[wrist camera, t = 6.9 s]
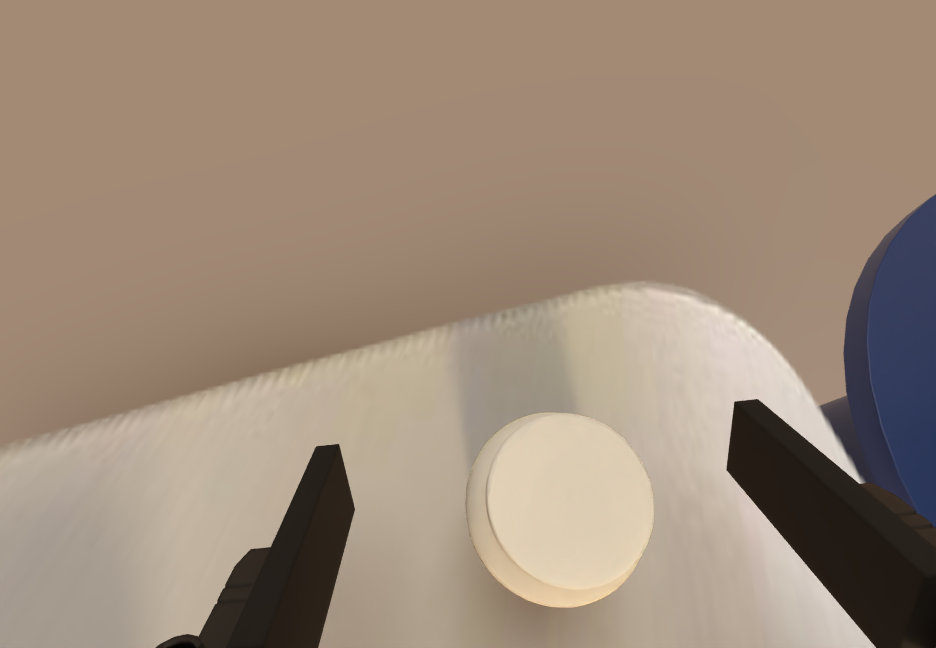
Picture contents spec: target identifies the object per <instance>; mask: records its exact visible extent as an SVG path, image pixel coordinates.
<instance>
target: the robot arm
mask: <svg viewBox="0 0 936 648" xmlns="http://www.w3.org/2000/svg"><path fill="white" fill-rule="evenodd" d="M727 471H728V472H729V473H730V475H731V476H732V477H733V478H734V479H735V481H736V482H737V483H738V484H739V485H740V487H741V488H742V489H743V490H744V491H745V492H746V494H747V495H748V496H749V497H750V498H751V500H752V501H753V502H754V503H755V504H756V506H757V507H758V508H759V509H760V510H761V511H762V513H763V514H764V515H765V516H766V517H767V519H768V520H769V521H770V522H771V523H772V525H773V526H774V527H775V528H776V529H777V530H778V532H779V533H780V534H781V535H782V536H783V538H784V539H785V540H786V541H787V542H788V543H789V545H790V546H791V547H792V548H793V549H794V551H795V552H796V553H797V554H798V555H799V557H800V558H801V559H802V560H803V561H804V562H805V564H806V565H807V566H808V567H809V568H810V570H811V571H812V572H813V573H814V574H815V576H816V577H817V578H818V579H819V580H820V581H821V583H822V584H823V585H824V586H825V587H826V589H827V590H828V591H829V592H830V593H831V595H832V596H833V597H834V598H835V599H836V600H837V602H838V603H839V604H840V605H841V606H842V608H843V609H844V610H845V611H846V612H847V614H848V615H849V616H850V617H851V618H852V619H853V621H854V622H855V623H856V624H857V625H858V627H859V628H860V629H861V630H862V631H863V633H864V634H865V635H866V636H867V637H868V638H869V640H870V641H871V642H872V643H873V644H874V646H875V647H876V648H936V527H935V528H934V527H933V526H932V523H930V522H929V521H928V520H926V519H925V518H924V517H923V516H921V515H920V514H917V513H916V511H915V510H914V509H913V508H911V507H910V506H909V505H908V504H906V503H905V502H904V501H902V500H901V499H900V498H899V497H897V496H896V495H894V494H892V493H890V492H888V491H886V490H884V489H883V488H881V487H879V486H877V485H875V484H873V483H864V484H859V483H858V482H856V481H855V480H854V479H853V478H852V477H850V476H849V475H848V474H847V473H846V472H844V471H843V470H842V469H841V468H840V467H838V466H837V465H836V464H835V463H834V462H832V461H831V460H830V459H829V458H828V457H826V456H825V455H824V454H823V453H822V452H820V451H819V450H818V449H817V448H816V447H814V446H813V445H812V444H811V443H810V442H808V441H807V440H806V439H805V438H804V437H802V436H801V435H800V434H799V433H798V432H796V431H795V430H794V429H793V428H792V427H790V426H789V425H788V424H787V423H786V422H784V421H783V420H782V419H781V418H780V417H779V416H777V415H776V414H775V413H774V412H773V411H771V410H770V409H769V408H768V407H767V406H765V405H764V404H763V403H762V402H761V401H759V400H758V399H755V400H746V401H737V402H734V411H733V419H732V427H731V436H730V444H729V453H728V461H727ZM354 511H355V508H354V503H353V499H352V495H351V491H350V487H349V483H348V479H347V475H346V471H345V467H344V462H343V458H342V454H341V450H340V446H339V444H335V445H326V446H316V448H315V450H314V452H313V455H312V457H311V459H310V461H309V463H308V466H307V468H306V470H305V472H304V475H303V477H302V479H301V481H300V483H299V486H298V488H297V490H296V492H295V495H294V497H293V499H292V501H291V503H290V506H289V508H288V510H287V512H286V515H285V517H284V519H283V521H282V524H281V526H280V528H279V530H278V532H277V535H276V537H275V539H274V541H273V544H272V546H271V547H269V548H259V549H251V550H250V551H249V552H248V553H247V554H246V555H245V556H244V557H243V558H242V559H241V560H240V561H239V562H238V563H237V564H236V566H235V567H234V569H233V571H232V573H231V575H230V577H229V579H228V581H227V582H226V584H225V588H224V589H223V590H222V592H221V594H220V596H219V598H218V600H217V601H218V602H217V604H215V606H214V608H213V610H212V612H211V614H210V616H209V617H208V619H207V621H206V623H205V625H204V627H203V629H202V631H201V633H200V635H199V637H198V636H194V635H189V634H186V635H181V636H176V637H173V638H171V639H169V640H167V641H165V642H163V643H161V644H160V645H158V646H157V647H156V648H318V646H319V643H320V639H321V635H322V631H323V627H324V624H325V620H326V616H327V612H328V609H329V605H330V601H331V597H332V594H333V590H334V586H335V582H336V579H337V575H338V571H339V567H340V564H341V560H342V556H343V552H344V548H345V545H346V541H347V537H348V533H349V530H350V526H351V522H352V518H353V515H354Z"/></svg>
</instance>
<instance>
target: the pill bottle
mask: <svg viewBox="0 0 936 648" xmlns="http://www.w3.org/2000/svg"><path fill="white" fill-rule="evenodd" d="M466 516H467V523H468V528H469V532H470V536H471V539H472V541H473V544H474V547H475V549H476V551H477V553H478V555H479V557H480V558H481V560H482V562H483V563H484V565H485V566H486V568H487V569H488V570H489V571H490V573H491V574H492V575H493V576H494V577H495V578H496V579H497V580H498V581H499V582H500V583H501V584H502V585H504V586H505V587H506V588H507V589H508V590H510V591H511V592H513V593H515V594H516V595H518V596H520V597H522V598H524V599H526V600H528V601H531V602H534V603H537V604H540V605H544V606H550V607H560V608H563V607H566V608H572V607H579V606H583V605H586V604H589V603H593V602H595V601H597V600H600V599H602V598H604V597H605V596H607V595H609V594H610V593H612V592H613V591H614V590H616V589H617V588H618V587H619V586H620V585H621V584H622V583H623V582H624V581H625V580H626V579H627V578H628V577H629V576H630V574H631V573H632V571H633V570H634V568H635V567H636V565H637V563H638V562H639V560H640V558H641V555H642V554H643V552H644V550H645V548H646V546H647V543H648V541H649V539H650V536H651V532H652V528H653V523H654V495H653V489H652V485H651V482H650V479H649V476H648V473H647V470H646V468H645V466H644V464H643V463H642V461H641V459H640V457H639V456H638V454H637V453H636V451H635V450H634V449H633V448H632V446H631V445H630V444H629V443H628V442H627V441H626V440H625V439H624V438H623V437H622V436H621V435H620V434H618V433H617V432H616V431H615V430H613V429H612V428H610V427H609V426H607V425H605V424H603V423H601V422H599V421H597V420H595V419H592V418H590V417H586V416H582V415H578V414H570V413H559V412H544V413H536V414H531V415H527V416H524V417H521V418H519V419H517V420H514V421H512V422H511V423H509V424H507V425H505V426H504V427H503V428H501V429H500V430H499V431H498V432H496V433H495V434H494V435H493V436H492V437H491V438H490V439H489V440H488V441H487V442H486V444H485V445H484V447H483V448H482V449H481V451H480V452H479V454H478V456H477V458H476V460H475V462H474V464H473V466H472V469H471V471H470V475H469V478H468V482H467V488H466Z"/></svg>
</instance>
